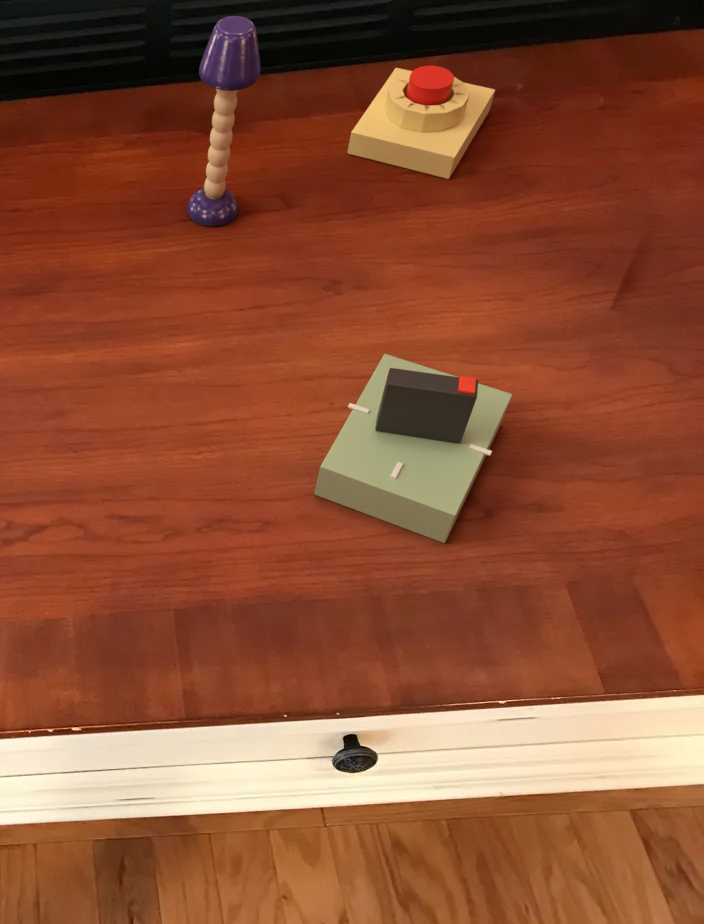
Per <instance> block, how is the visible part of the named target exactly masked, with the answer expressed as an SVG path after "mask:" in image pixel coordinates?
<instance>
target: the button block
mask: <svg viewBox="0 0 704 924" xmlns="http://www.w3.org/2000/svg"><path fill="white" fill-rule="evenodd" d="M412 71H413V70H409V69H404V68H400V67H395V68H394V70H393V71H392V72H391V74H390V76H389V77H388V78H387V80H386V81H385V83H384V84H383V85H382V87H381V88H380V90H379V91H378V93H377V94H376V95H375V97H374V99H373V100H372V101H371V103H370V104H369V105H368V107H367V109H366V110H365V112H364V113H363V115H362V116H361V118H360V119H359V120H358V122H357V123H356V125H355V126H354V128H353V129H352V130H351V132H350V137H349V142H348V146H347V147H348V148H347V154H348V155H352V156H356V157H360V158H364V159H367V160H371V161H376V162H380V163H384V164H386V165H387V164H388V165H392V166H396V167H399V168H403V169H407V170H411V171H415V172H419V173H422V174H427V175H430V176H431V175H432V176H435V177H439V178H444V179H446V180H449V179H450V178H451V177H452V175H453V174H454V172H455V169H456V168H457V167H458V165H459V164H460V161H461V160H462V158H463V156H464V155H465V154H466V151H467V150H468V148H469V146H470V144H471V143H472V141H473V139H474V138H475V137H476V135H477V132H478V131H479V129H480V128H481V126H482V124H483V123H484V121H485V119H486V117H487V116H488V114H489V113H490V110H491V107H492V103H493V100H494V96H495V93H496V89H494V88H491V87H486V86H482V85H476V84H473V83H469V82H463V81H462V80H460V79H458V78H457V77H455V76H454V82H453V86H452V90H451V94H450V98H449V100H448V101H447V102H446V103H444V104H442V105H432V106H425V105H421V104H417V103H414V102H412V101H411V100H409V99H408V98H407V96H406V92H407V87H408V83H409V78H410V74H411V73H412Z"/></svg>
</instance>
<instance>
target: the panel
mask: <svg viewBox="0 0 704 924" xmlns="http://www.w3.org/2000/svg"><path fill="white" fill-rule="evenodd" d="M390 368H396V369H403V370H410V371H418V372H425V373H432V374H439V375H446V376H453V377H458V376H456V375H453V374H451V373H447V372H444V371H442V370H438V369H435V368H431V367H428V366H425V365H423V364H419V363H415V362H412V361H409V360H406V359H403V358H400V357H397V356H393V355H391V354H387V353H384V354H383V355H382V358H380V361H379V362H378V364H377V366H376V367H375V369H374V371H373V373H372V374H371V377H370V379H369V380H368V382H367V384H366V385H365V387H364V389H363V391H362V393H361V394H360V396H359V398H358V399H357V401H356V403H351V402H349V403H348V405H347V408H348V409H350V410H351V412H350V414H349V415H348V417H347V419H346V421H344V424H343V426H342V427H341V430H340V431H339V433H338V434H337V437H336V438H335V440H334V442H333V444H332V445H331V447H330V448H329V450H328V452H327V454H326V456H325V458H324V459H323V460H322V463H321V465H320V467H319V471H318V475H317V479H316V480H317V481H316V483H315V484H316V485H315V489H314V495H315V496H317V497H320V498H322V499H324V500H328V501H330V502H333V503H336V504H339V505H341V506H344V507H346V508H349V509H351V510H355V511H357V512H360V513H363V514H365V515H367V516H371V517H373V518H375V519H378V520H381V521H383V522H387V523H389V524H391V525H394V526H397V527H400V528H402V529H405V530H408V531H410V532H413V533H416V534H419V535H421V536H424V537H426V538H428V539H432V540H434V541H438V542H440V543H442V544H446V542H447V540H448V538H449V536H450V533H451V531H452V529H453V527H454V526H455V523H456V521H457V519H458V517H459V515H460V512H461V510H462V508H463V506H464V504H465V503H466V500H467V497H468V495H469V493H470V492H471V489H472V487H473V484H474V483H475V481H476V478H477V476H478V474H479V472H480V470H481V468H482V466H483V463H484V461H485V459H486V457H487V456H488V457H490V456H491V455H492V452H493V450H491V449H490V448H491V446H492V444H493V443H494V441H495V438H496V436H497V434H498V431H499V429H500V428H501V425H502V423H503V420H504V417H505V415H506V412H507V410H508V408H509V405H510V402H511V400H512V398H513V393H510V392H507V391H504V390H502V389H501V390H500V389H497V388H494V387H492V386H488V385H485V384H482V383H479V382H478V392H477V399H476V401H475V404H474V407H473V410H472V413H471V415H470V418H469V421H468V424H467V426H466V429H465V432H464V435H463V438H462V440H461V443H452V442H446V441H439V440H433V439H426V438H419V437H413V436H406V435H400V434H393V433H387V432H380V431H376V430H375V427H376V420H377V414H378V410H379V406H380V402H381V399H382V395H383V391H384V387H385V384H386V380H387V376H388V372H389V369H390Z"/></svg>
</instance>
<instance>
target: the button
mask: <svg viewBox="0 0 704 924" xmlns="http://www.w3.org/2000/svg"><path fill="white" fill-rule="evenodd" d="M411 71H412V73H411V74H410V78H409V83H408V87H407V92H406V96H407V98H408V99H409V100H411V101H412V102H414V103H417V104H421V105H425V106H432V105H442V104H444V103H446V102H447V101H448V100H449V98H450V94H451V90H452V86H453V82H454V77H455V76H454V74H453V72H451V70H449V69H448V68H445V67H443V66H438V65H424V66H419V67H417V68H415V69H413V70H411Z"/></svg>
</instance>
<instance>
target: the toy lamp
mask: <svg viewBox="0 0 704 924" xmlns="http://www.w3.org/2000/svg"><path fill="white" fill-rule="evenodd" d="M261 68H262V67H261V57H260V51H259V42H258V34H257V29H256V25H255V23H254V22H253V21H251V20H250V19H249V18H246V17H244V16H239V15H232V16H231V15H230V16H226V17H223V18H221V19H219V21H217V22H216V24H215V25H214V27H213V30H212V32H211V35H210V37H209V40H208V42H207V45H206V48H205V50H204V53H203V55H202V58H201V61H200V64H199V68H198V75H199V78H200V80H201V81H202V82H203V83H204V84H206V86H209V87H211V88H213V89H215V91H216V94H215V96H214V99H213V107H214V111H213V114H212V116H211V125H212V128H211V131H210V133H209V142H210V145H209V148H208V150H207V160H208V163H207V164H206V167H205V175H206V179H205V181H204V184H203V187H202V188H201V189H198V190H197V191H196V192H194V194H193V195H192V196H191V197H190V200H189V201H188V203H187V204H188V205H187V208H186V210H187V211H186V212H187V216H188V217H189V218H190V219H191V220H192V221H193V222H195V223H196V224H200V225H202V226H208V227H219V226H224V225H227V224H229V223H231V222H232V221H233V220H235V218H236V217H237V214H238V209H239V207H238V203H237V200H236V198H235V196H234V195H233V193H232V192H230V191H229V190H228V189H226V185H227V183H226V177H227V175H228V172H229V171H228V170H229V166H228V162H229V161H230V157H231V149H230V146H231V144H232V141H233V130H232V129H233V127H234V125H235V120H236V119H235V111H236V108H237V105H238V97H237V93H238V91H240V90H245V89H247V88H250V87H252V86H253V85H254V84H256V83H257V82H258V80H259V79H260V75H261V72H262V71H261V70H262V69H261Z"/></svg>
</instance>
